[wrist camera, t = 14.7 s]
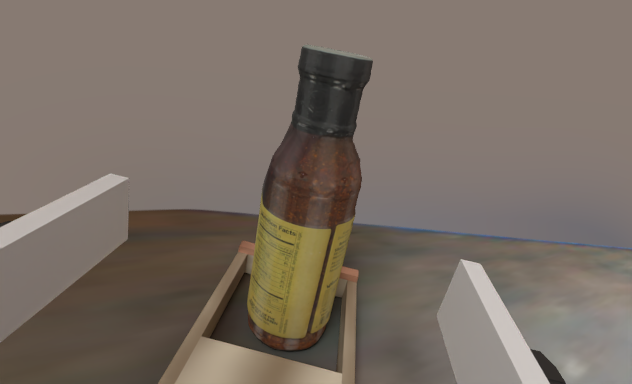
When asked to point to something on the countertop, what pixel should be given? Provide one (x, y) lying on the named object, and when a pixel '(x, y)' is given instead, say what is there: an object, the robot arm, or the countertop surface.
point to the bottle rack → (249, 365)
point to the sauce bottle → (308, 203)
